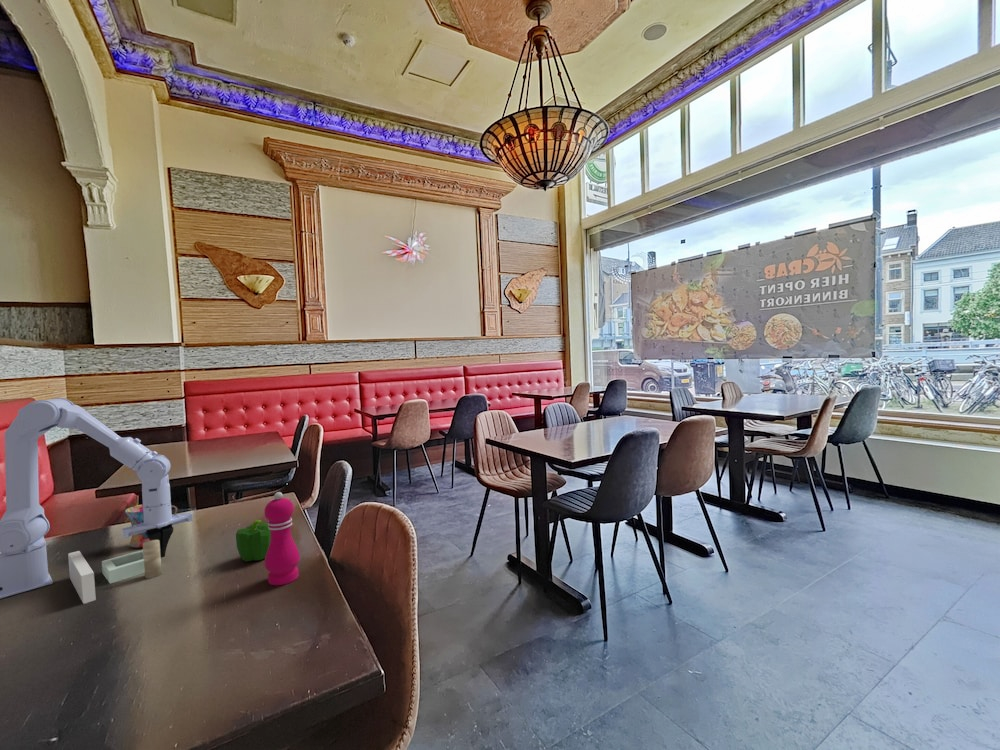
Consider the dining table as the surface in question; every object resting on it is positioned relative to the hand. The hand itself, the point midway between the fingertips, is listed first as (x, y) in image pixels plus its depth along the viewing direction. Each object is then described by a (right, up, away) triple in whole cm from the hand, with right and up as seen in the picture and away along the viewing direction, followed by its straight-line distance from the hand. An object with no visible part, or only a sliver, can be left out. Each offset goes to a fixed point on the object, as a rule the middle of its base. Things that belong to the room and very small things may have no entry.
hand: (160, 556), depth 117 cm
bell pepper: (+25, 0, -1) cm, 25 cm away
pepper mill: (+38, 0, -13) cm, 40 cm away
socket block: (-4, -2, -5) cm, 6 cm away
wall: (-8, -2, -13) cm, 15 cm away
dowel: (+4, -1, -8) cm, 9 cm away
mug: (-13, -2, +14) cm, 19 cm away
